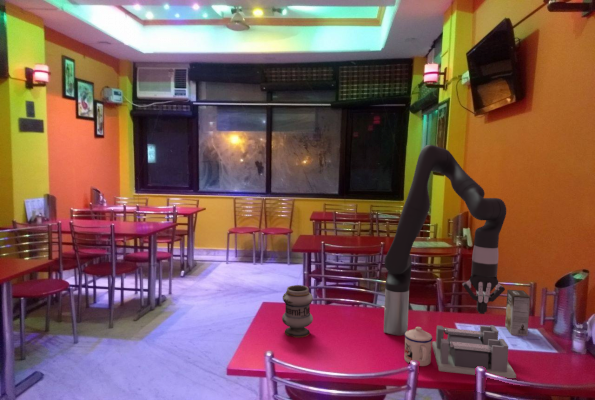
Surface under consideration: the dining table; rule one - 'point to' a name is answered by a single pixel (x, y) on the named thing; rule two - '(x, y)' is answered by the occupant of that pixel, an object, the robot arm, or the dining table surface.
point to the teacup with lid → (418, 346)
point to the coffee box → (517, 312)
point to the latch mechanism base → (473, 353)
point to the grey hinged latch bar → (463, 332)
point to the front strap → (470, 346)
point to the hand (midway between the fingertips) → (481, 312)
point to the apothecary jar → (297, 310)
